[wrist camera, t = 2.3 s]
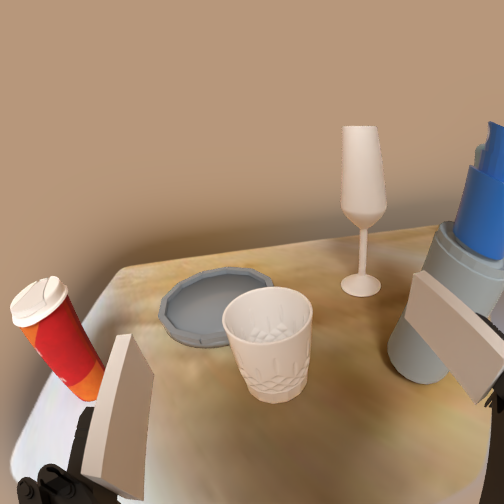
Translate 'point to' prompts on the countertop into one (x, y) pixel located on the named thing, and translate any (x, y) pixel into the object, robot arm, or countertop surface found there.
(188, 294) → the plate
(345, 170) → the champagne flute
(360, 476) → the countertop surface
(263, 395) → the white cup
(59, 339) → the coffee cup
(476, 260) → the spray bottle
